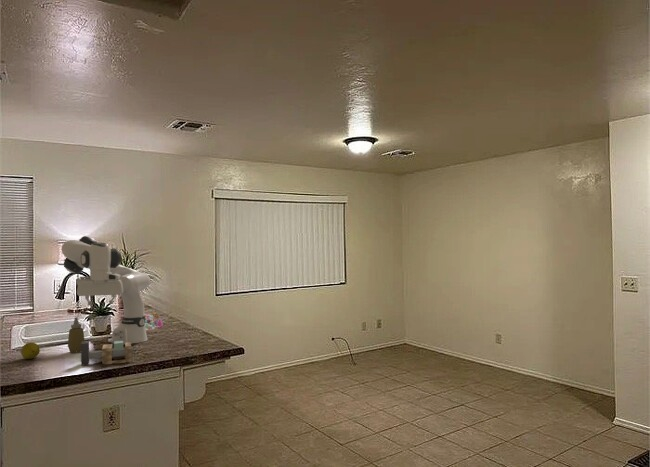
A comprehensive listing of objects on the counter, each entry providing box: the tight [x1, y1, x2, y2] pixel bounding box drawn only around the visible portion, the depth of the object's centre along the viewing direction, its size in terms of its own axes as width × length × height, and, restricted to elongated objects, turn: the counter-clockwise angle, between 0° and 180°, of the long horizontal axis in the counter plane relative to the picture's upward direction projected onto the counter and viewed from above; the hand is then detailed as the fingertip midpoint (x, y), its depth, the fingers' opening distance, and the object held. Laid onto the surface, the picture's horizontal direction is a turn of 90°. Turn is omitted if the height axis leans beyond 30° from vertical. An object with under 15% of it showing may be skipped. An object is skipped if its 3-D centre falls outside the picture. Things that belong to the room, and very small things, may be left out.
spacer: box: [113, 341, 124, 351], centre depth 227 cm, size 4×5×4 cm
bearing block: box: [101, 342, 132, 365], centre depth 227 cm, size 12×9×8 cm
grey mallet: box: [80, 340, 134, 366], centre depth 225 cm, size 22×5×10 cm, turn 113°
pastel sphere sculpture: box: [144, 312, 164, 332], centre depth 310 cm, size 25×24×9 cm
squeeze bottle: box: [67, 316, 85, 354], centre depth 246 cm, size 8×8×18 cm
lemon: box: [20, 342, 40, 360], centre depth 233 cm, size 11×8×8 cm
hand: (100, 304), depth 227 cm, fingers open, 8 cm apart
